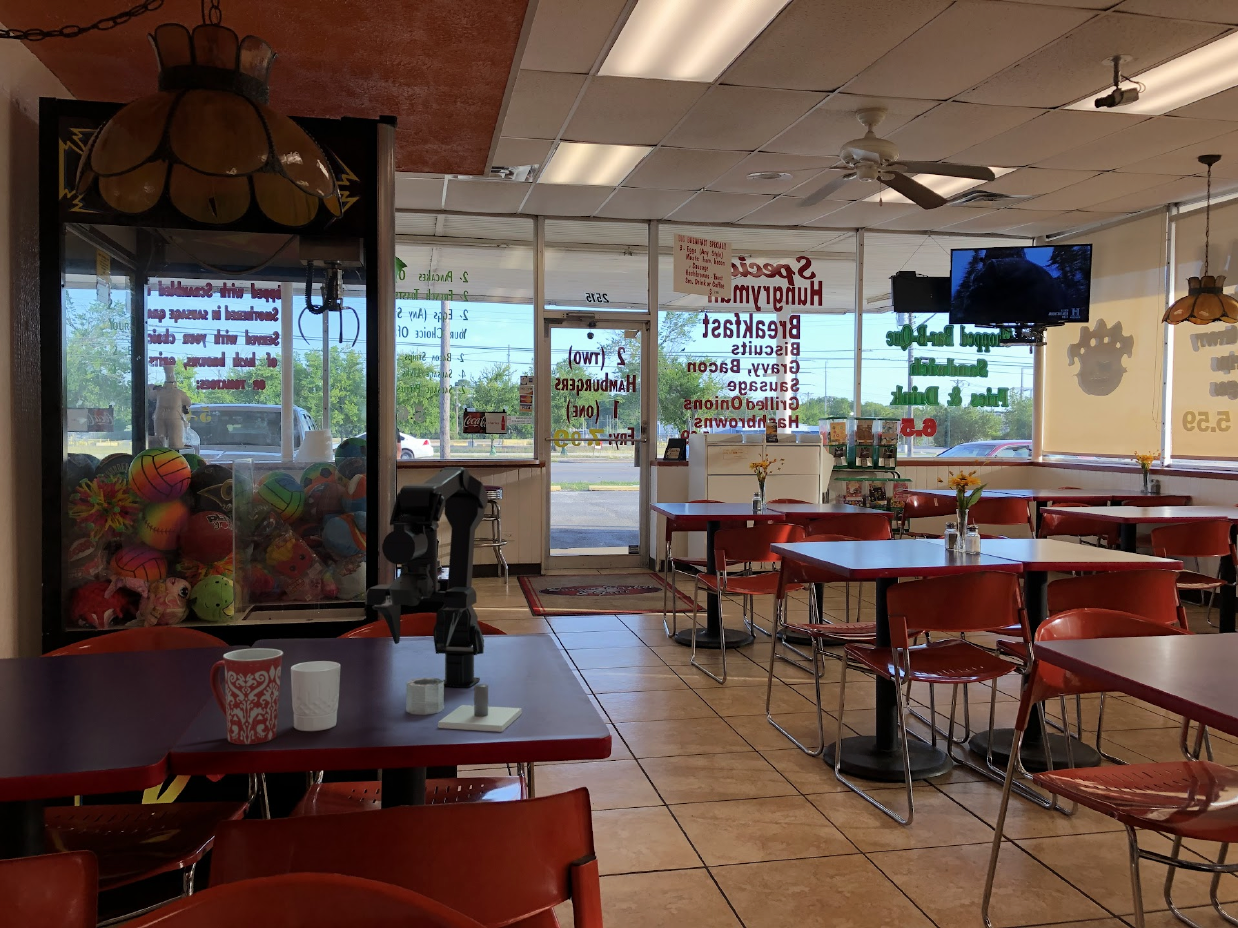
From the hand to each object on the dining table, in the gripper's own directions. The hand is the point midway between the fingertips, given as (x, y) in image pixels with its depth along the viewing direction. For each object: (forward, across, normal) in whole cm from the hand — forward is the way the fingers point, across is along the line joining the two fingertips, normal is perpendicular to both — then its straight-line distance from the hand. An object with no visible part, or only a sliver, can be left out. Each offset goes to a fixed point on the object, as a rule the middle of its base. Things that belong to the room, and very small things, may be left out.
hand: (421, 644), depth 166 cm
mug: (+11, -22, -20) cm, 32 cm away
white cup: (+12, -14, -12) cm, 22 cm away
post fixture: (+12, +12, -4) cm, 17 cm away
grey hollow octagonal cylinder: (+12, 0, +1) cm, 12 cm away
